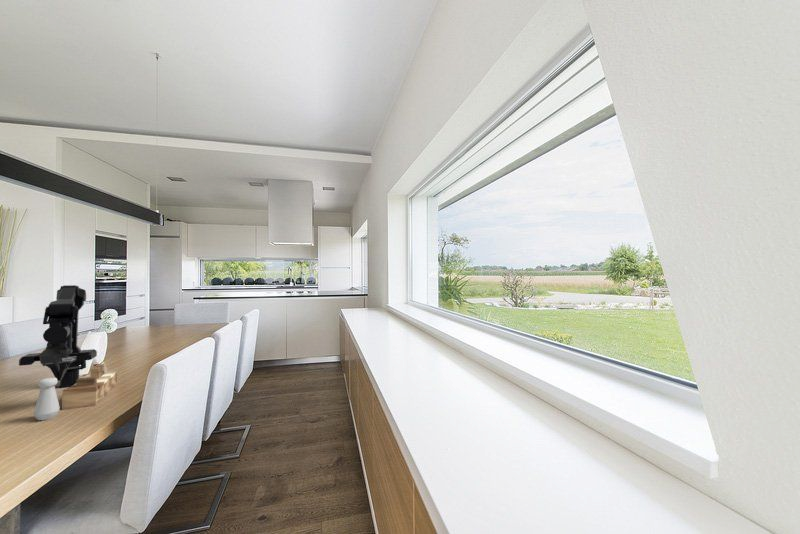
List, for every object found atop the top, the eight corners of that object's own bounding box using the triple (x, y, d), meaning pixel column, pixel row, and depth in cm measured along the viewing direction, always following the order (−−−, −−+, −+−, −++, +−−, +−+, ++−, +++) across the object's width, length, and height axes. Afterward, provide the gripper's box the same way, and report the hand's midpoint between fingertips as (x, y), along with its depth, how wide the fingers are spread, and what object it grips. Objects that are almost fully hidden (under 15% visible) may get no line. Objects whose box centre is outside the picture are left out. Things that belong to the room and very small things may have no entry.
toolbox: (88, 388, 131) (88, 371, 131) (116, 385, 135) (117, 369, 135) (61, 409, 112) (62, 390, 112) (95, 405, 116) (96, 386, 116)
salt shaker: (41, 423, 102) (43, 382, 102) (28, 420, 103) (29, 380, 103) (64, 414, 108) (65, 376, 108) (51, 413, 109) (52, 375, 109)
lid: (89, 378, 131) (89, 363, 131) (116, 375, 135) (116, 361, 135) (69, 393, 116) (70, 376, 116) (100, 389, 120) (101, 373, 120)
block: (79, 384, 119) (79, 378, 119) (96, 382, 121) (96, 376, 121) (76, 386, 117) (76, 380, 117) (94, 384, 119) (94, 378, 119)
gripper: (9, 344, 104) (7, 392, 104) (85, 340, 113) (84, 384, 113) (29, 337, 114) (27, 381, 114) (97, 334, 123) (96, 374, 123)
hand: (59, 380), depth 116 cm, fingers closed
